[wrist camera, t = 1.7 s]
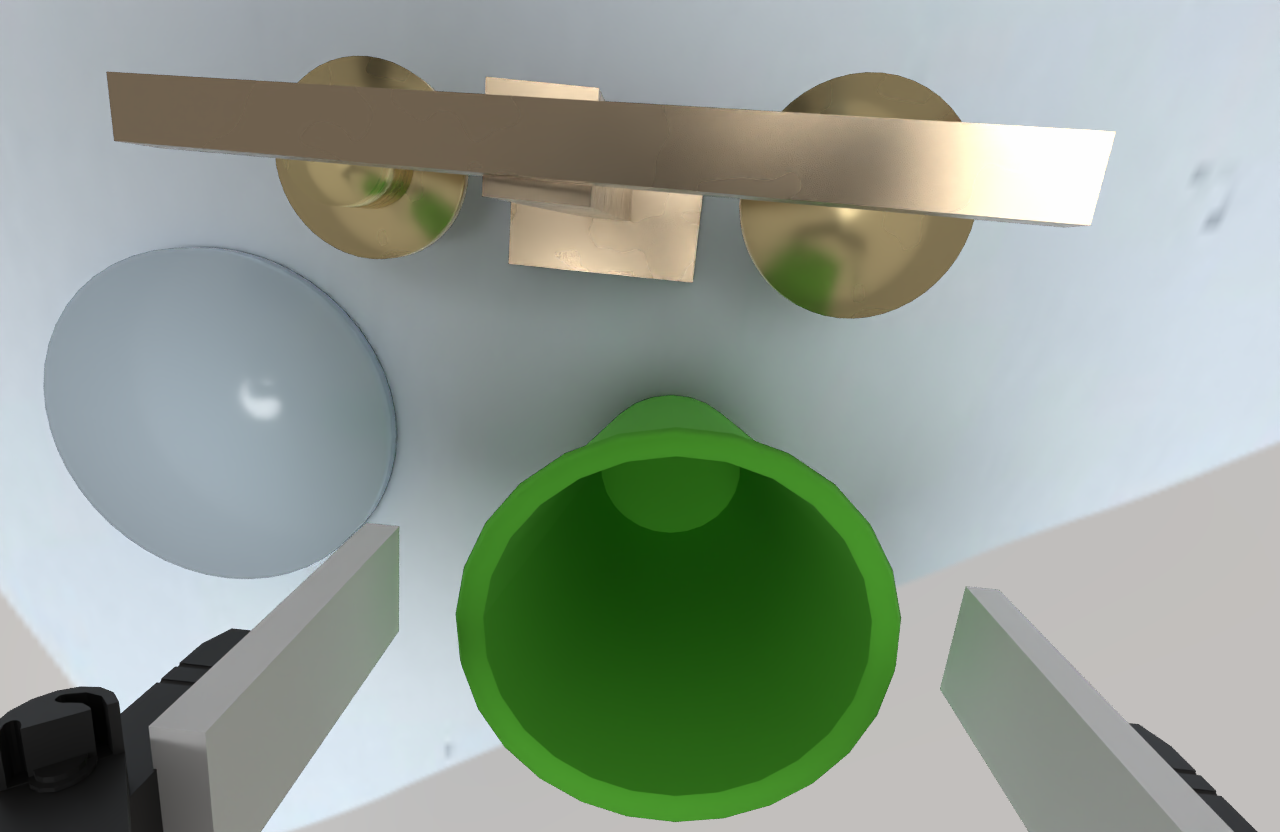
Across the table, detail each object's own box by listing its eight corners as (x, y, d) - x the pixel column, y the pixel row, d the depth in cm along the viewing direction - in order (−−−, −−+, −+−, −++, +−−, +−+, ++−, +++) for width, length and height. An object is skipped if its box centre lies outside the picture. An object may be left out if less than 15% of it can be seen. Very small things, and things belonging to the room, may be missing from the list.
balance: (351, 246, 22) (-179, 268, 8) (348, 83, 21) (-296, -221, 7) (854, 297, 22) (1184, 408, 8) (884, 137, 21) (1343, -63, 7)
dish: (46, 230, 22) (17, 230, 21) (396, 266, 22) (383, 267, 21) (91, 548, 26) (69, 561, 25) (397, 581, 25) (386, 594, 24)
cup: (774, 586, 25) (856, 847, 14) (537, 559, 25) (445, 799, 14) (817, 354, 23) (953, 462, 12) (555, 325, 23) (459, 405, 12)
